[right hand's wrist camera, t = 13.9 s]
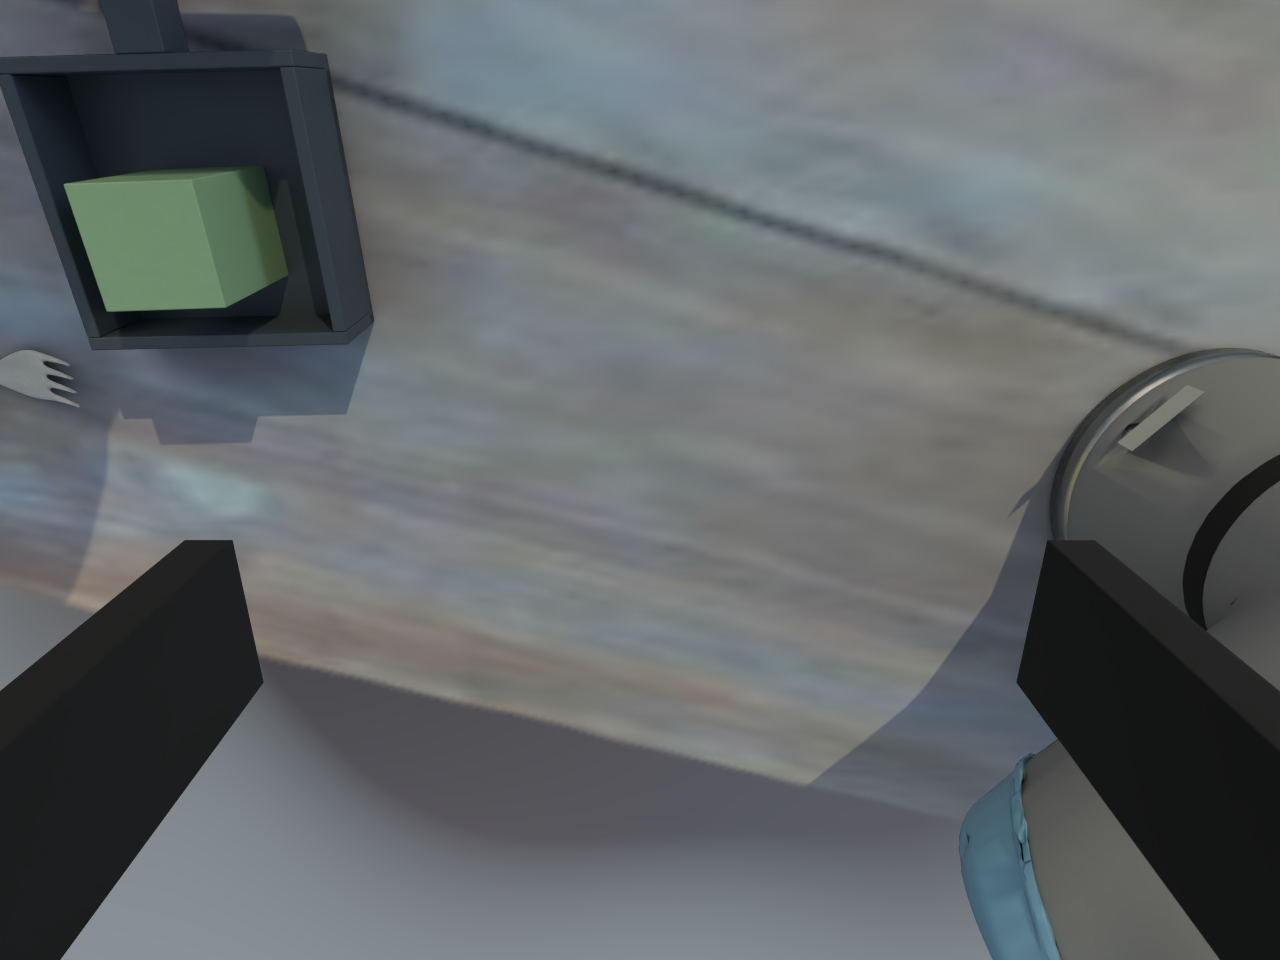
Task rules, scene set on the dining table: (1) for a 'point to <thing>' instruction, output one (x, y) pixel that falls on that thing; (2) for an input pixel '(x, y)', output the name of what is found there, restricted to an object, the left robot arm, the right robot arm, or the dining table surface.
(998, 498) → the dining table surface
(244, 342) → the pan
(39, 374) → the fork
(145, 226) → the block
